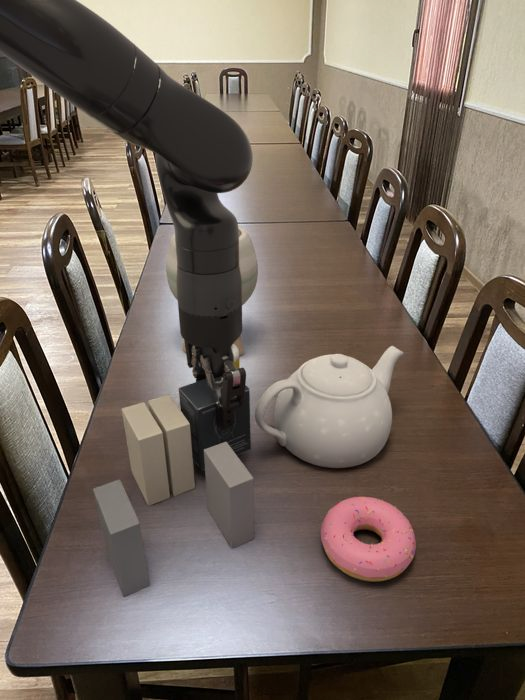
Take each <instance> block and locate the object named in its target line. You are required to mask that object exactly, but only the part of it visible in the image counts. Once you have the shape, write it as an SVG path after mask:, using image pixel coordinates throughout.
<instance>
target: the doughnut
mask: <svg viewBox="0 0 525 700" xmlns="http://www.w3.org/2000/svg"><path fill="white" fill-rule="evenodd" d="M361 530H368V531H371V532H374V533H376V534H377V535H378V536H379V537H380V538H381V541H380V542H378V543H375V542H372V543H371V544H370V543H368V542H367V543H365V542H363V540H361V541H360V539H359V538H358V539H357V537H355V534H354V533H355V532H357V531H361ZM416 536H417V534H415V533H414V529H413V526H412V525H411V523H410V519H408V518H407V517H406V516H405V513H404V512H402V511H400V510H399V509H398V508H397V506H396V505H395V506H394V505H393V504H391V503H389V502H387V501H386V499H384V500H382V499H379V498H377V497H371V496H363V495H361V496H358V495H357V494H356V496H353V497H349V498H348V497H347V498H345V499H344V500H341V501H338V502H336V504H334V506H332V507H331V508H328V511H327V513H326V515H324V518H323V521H322V523H321V527H320V539H321V543H322V547H323V549H324V552H325V554H326V555H327V557H328V559H329V560H330V562H331V563H332V564H333V565H334V566H335V567H336V568H337V569H338V570H340V571H341V572H343V573H344V574H346V575H347V576H349V577H352V578H354V579H357V580H360V581H363V582H364V581H365V582H373V583H374V582H384V581H388V580H392V579H394V578H396V577H398V576H400V575H401V574H402V573H403V572H404V571H405V570H406V569H408V566H409V565H410V564H411V563H412V561H413V559H414V558H415V555H416V549H417V542H416Z"/></svg>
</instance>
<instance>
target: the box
mask: <svg viewBox="0 0 525 700" xmlns="http://www.w3.org/2000/svg"><path fill="white" fill-rule="evenodd" d="M222 377H223V376H222ZM222 377H219V378H214V381H215V382H218V381H221V378H222ZM250 392H251V390H250V387H249V386H247V385H246V384H245V395H244V405H243V406H242V407H238V408H234V424H233V425H232V426H230V427H227V428H224V429H219V427H218V426H217V420H216V401H215V397H214V392H213V390H211V389H209V387H208V383H207V378H206V379H203V380H200V381H198V382H196V381H195V382H192V383H189V384H186V385H184V386H181V387H179V388H178V395H179V406H180V407H179V409H180V410H181V412H182V413H183V415H184V416H185V418H186V419H187V420H188V422H189V423H190V433H191V445H192V457H193V462H195V463H196V465H197V466H198V468H199V469H200V470H201V471H205V461H204V449H207V448H210V447H212V446H215V445H218V444H221V443H224V442H227V443H228V444H229V446H230V447H231V449H232V450H233V451H234V453H235V454H236V455H237V456H240V455H241V454H244V453H246V452H248V451H250V450H251V448H252V447H251V446H252V445H251V444H252V443H251V442H252V440H251V394H250ZM220 393H221V397H222V389H221V390H220Z"/></svg>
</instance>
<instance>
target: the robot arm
mask: <svg viewBox="0 0 525 700" xmlns="http://www.w3.org/2000/svg"><path fill="white" fill-rule="evenodd" d="M0 54H1V55H2V56H4V57H5V58H7V59H8V60H10V61H11V62H12V63H14V64H15V65H17V66H18V67H20V68H21V69H22V70H23V71H25V72H27V73H28V74H29V75H31V76H32V77H33V78H35V79H36V80H37V81H38V82H40V83H42V84H43V85H44V86H46V87H47V88H49V89H50V90H51V91H52V92H54V93H56V94H57V95H58V96H59V97H61V98H62V99H64V100H66V101H67V102H68V103H69V104H71V105H72V106H74V107H75V108H76V109H78V110H79V111H80V112H82V113H83V114H84V115H86V116H88V117H89V118H91V119H92V120H94V121H95V122H97V123H98V124H99V125H101V126H103V127H104V128H105V129H107V130H108V131H109V132H110V133H113V134H114V135H116V136H117V137H119V138H120V139H122V140H124V141H126V142H128V143H130V144H132V145H135V146H137V147H140V148H142V149H145V150H148V151H150V152H152V153H154V156H155V157H154V158H155V167H156V172H157V176H158V180H159V184H160V186H161V190H162V193H163V197H164V200H165V204H166V207H167V211H168V213H169V216H170V218H171V221H172V224H173V227H174V233H175V243H176V256H177V279H176V285H177V298H178V300H177V309H178V321H179V322H178V323H179V333H180V336H181V338H182V339H183V340H184V341H185V349H186V352H185V355H186V364H187V366H188V368H189V369H191V368H192V376H193V378H194V379H195V382H198V381H200V380H203V379H206V378H207V383H208V387H209V389H211V390H213V392H214V397H215V401H216V420H217V426H218V427H219V429H224V428H227V427H230V426H232V425H233V424H234V408H238V407H242V406H243V405H244V395H245V385H246V384H247V383H246V382H247V371H246V369H245V368H244V367H243V366H242V367H239V369H237V368H236V367H235V366H234V364H233V362H234V355H233V351H232V348H231V346H232V345H233V343H234V342H235V341H236V340H237V339H238V338H239V337H240V335H241V336H242V333H243V305H242V280H241V273H240V267H239V232H238V226H239V224H238V219H237V218H236V216H235V214H234V213H233V212H231V210H229V209H228V208H227V207H226V206H225V205H224V204H223V202H222V201H221V200H220V197H219V195H218V194H225V193H229V192H232V191H235V190H236V189H238V188H239V187H241V186H242V185H243V184H244V182H246V180H247V179H248V177H249V175H250V173H251V171H252V168H253V161H254V160H253V157H254V156H253V150H252V146H251V142H250V139H249V138H248V135H247V134H246V132H245V130H244V129H243V128H242V127H241V125H240V124H239V123H238V122H237V120H235V119H234V118H233V117H232V116H230V115H229V114H228V113H226V112H225V111H224V110H222V109H221V108H219V107H218V106H216V105H214V104H213V103H212V102H210V101H208V100H207V99H205V98H204V97H202V96H201V95H199V94H198V93H196V92H194V91H193V90H191V89H190V88H188V87H186V86H185V85H183V84H181V83H179V82H178V81H177V80H175V79H173V78H172V77H171V76H170V75H169V74H167V72H166V71H165V70H163V69H162V67H161V66H160V65H159V64H158V63H156V62H155V60H153V59H152V58H151V57H150V56H149V55H147V54H146V53H145V52H144V51H143V50H142V49H140V48H139V46H137V45H136V44H135V43H134V42H133V41H132V40H130V39H129V38H128V37H127V36H126V35H124V34H123V33H122V32H121V31H120V30H118V29H117V28H116V27H115V26H114V25H112V24H111V23H110V22H108V21H107V20H106V19H105V18H103V17H102V16H100V15H99V14H98V13H96V12H95V11H93V10H92V9H91V8H89V7H88V6H86V5H84V3H83V4H82V3H81V2H80V1H78V0H0ZM222 376H223V377H222ZM219 377H222V378H221V381H218V382H215V381H214V378H219ZM221 389H222V397H221V393H220V390H221Z"/></svg>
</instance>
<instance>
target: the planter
mask: <svg viewBox="0 0 525 700" xmlns="http://www.w3.org/2000/svg"><path fill="white" fill-rule="evenodd" d="M238 232H239V267H240V273H241V280H242V306H244V305H245V304H246V303H247V302H248V301H249V299H250V298H251V296H252V295H253V293H254V291H255V289H256V287H257V283H258V275H259V264H258V258H257V257H258V256H257V253H256V249H255V246H254V244H253V241H252V238H251V237H250V234H249V233H248V231H247V229H245V228H244V227H242V226H240V225H238ZM165 263H166V264H165V268H166V269H165V270H166V271H165V272H166V280H167V284H168V287H169V290H170V292H171V294H172V295H173V297H174V298H175V300H176V301H178V298H177V285H176V279H177V256H176V243H175V232H174V233H173V234H172V237H171V239H170V242H169V245H168V250H167V255H166V262H165ZM242 339H243V338H242V334H241V335H240V337H239V338H238V339H237V340H236V341H235V342H234V343H233V344H234V345H236V347H237V348H238V350H239V356H242V355H243V354H244V353H245V350H244V344H243V340H242ZM181 350H182V351H183V352H184V353H186V349H185V341H184V339H183V340H182V346H181Z"/></svg>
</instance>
